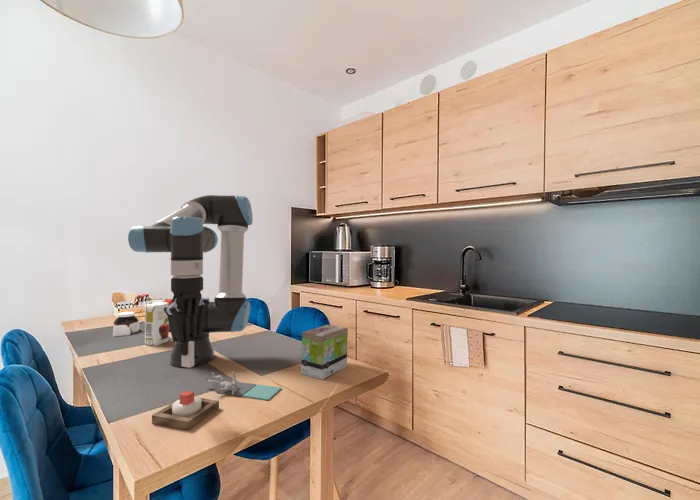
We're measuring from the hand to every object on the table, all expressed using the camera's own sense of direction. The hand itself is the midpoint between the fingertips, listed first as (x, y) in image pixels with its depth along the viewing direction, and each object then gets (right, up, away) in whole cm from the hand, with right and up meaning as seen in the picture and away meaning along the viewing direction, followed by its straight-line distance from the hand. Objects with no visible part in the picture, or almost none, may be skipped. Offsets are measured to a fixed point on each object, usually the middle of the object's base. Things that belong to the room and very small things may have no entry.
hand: (187, 365), depth 83 cm
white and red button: (0, -13, 0) cm, 13 cm away
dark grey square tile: (+7, -13, +15) cm, 21 cm away
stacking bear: (-50, -13, +80) cm, 95 cm away
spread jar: (-67, -13, +72) cm, 99 cm away
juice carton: (-44, -13, +58) cm, 74 cm away
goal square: (+16, -13, +13) cm, 24 cm away
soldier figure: (-1, -11, +18) cm, 21 cm away
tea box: (+34, -13, +31) cm, 47 cm away
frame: (0, -13, 0) cm, 13 cm away
